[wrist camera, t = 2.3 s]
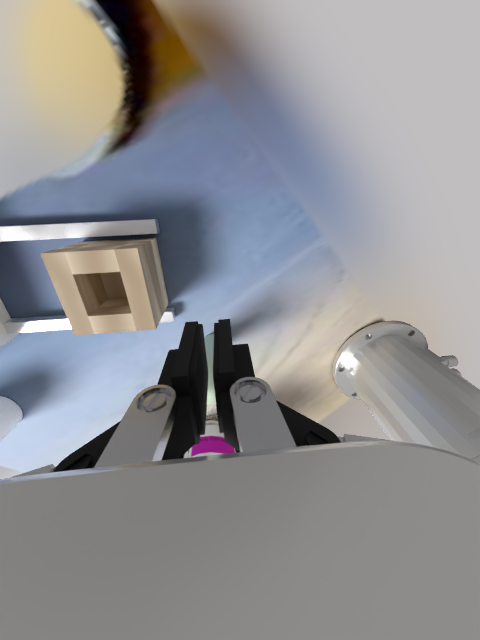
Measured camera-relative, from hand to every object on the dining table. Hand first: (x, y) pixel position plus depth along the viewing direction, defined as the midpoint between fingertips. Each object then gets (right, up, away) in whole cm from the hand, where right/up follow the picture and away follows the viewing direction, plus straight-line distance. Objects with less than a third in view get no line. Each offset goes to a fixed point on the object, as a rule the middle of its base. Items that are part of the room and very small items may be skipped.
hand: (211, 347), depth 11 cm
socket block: (-10, +6, +13) cm, 18 cm away
